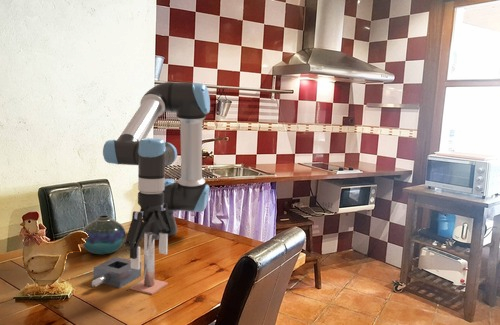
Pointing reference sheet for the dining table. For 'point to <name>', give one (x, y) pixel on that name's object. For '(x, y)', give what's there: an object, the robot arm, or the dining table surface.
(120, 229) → the vase
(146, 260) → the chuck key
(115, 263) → the chuck block
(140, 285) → the mat
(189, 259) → the dining table surface
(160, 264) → the dining table surface
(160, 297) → the dining table surface
